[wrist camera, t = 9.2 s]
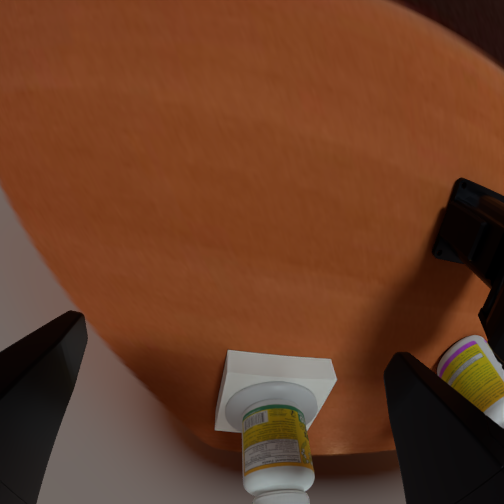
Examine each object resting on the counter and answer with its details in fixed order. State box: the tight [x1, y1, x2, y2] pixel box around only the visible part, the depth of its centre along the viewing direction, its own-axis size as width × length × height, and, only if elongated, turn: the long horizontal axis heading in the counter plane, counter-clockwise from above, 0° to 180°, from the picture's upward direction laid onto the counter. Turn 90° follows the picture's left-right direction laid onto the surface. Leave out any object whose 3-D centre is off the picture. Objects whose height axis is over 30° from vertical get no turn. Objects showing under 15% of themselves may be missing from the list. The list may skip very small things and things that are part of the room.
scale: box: [215, 350, 337, 433], centre depth 27 cm, size 9×10×4 cm
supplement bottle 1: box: [242, 399, 315, 504], centre depth 21 cm, size 5×5×10 cm
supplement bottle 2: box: [437, 335, 504, 429], centre depth 22 cm, size 7×7×13 cm
